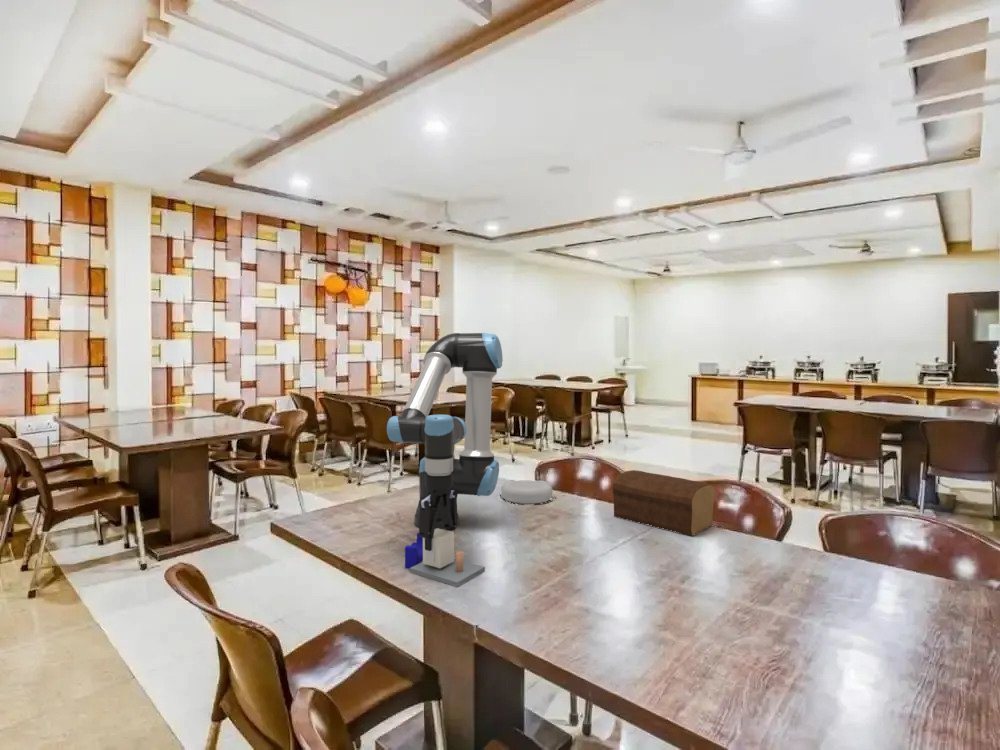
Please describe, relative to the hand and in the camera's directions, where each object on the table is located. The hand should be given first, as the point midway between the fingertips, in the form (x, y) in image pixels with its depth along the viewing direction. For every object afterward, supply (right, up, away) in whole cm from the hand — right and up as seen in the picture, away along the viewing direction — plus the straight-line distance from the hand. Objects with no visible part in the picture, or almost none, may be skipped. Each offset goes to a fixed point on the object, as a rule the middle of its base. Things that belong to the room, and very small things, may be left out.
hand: (438, 557), depth 152 cm
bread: (+73, -2, +43) cm, 85 cm away
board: (+2, -3, -1) cm, 4 cm away
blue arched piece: (-8, -3, +7) cm, 11 cm away
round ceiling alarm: (+27, 0, +72) cm, 77 cm away
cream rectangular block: (0, -1, 0) cm, 1 cm away
